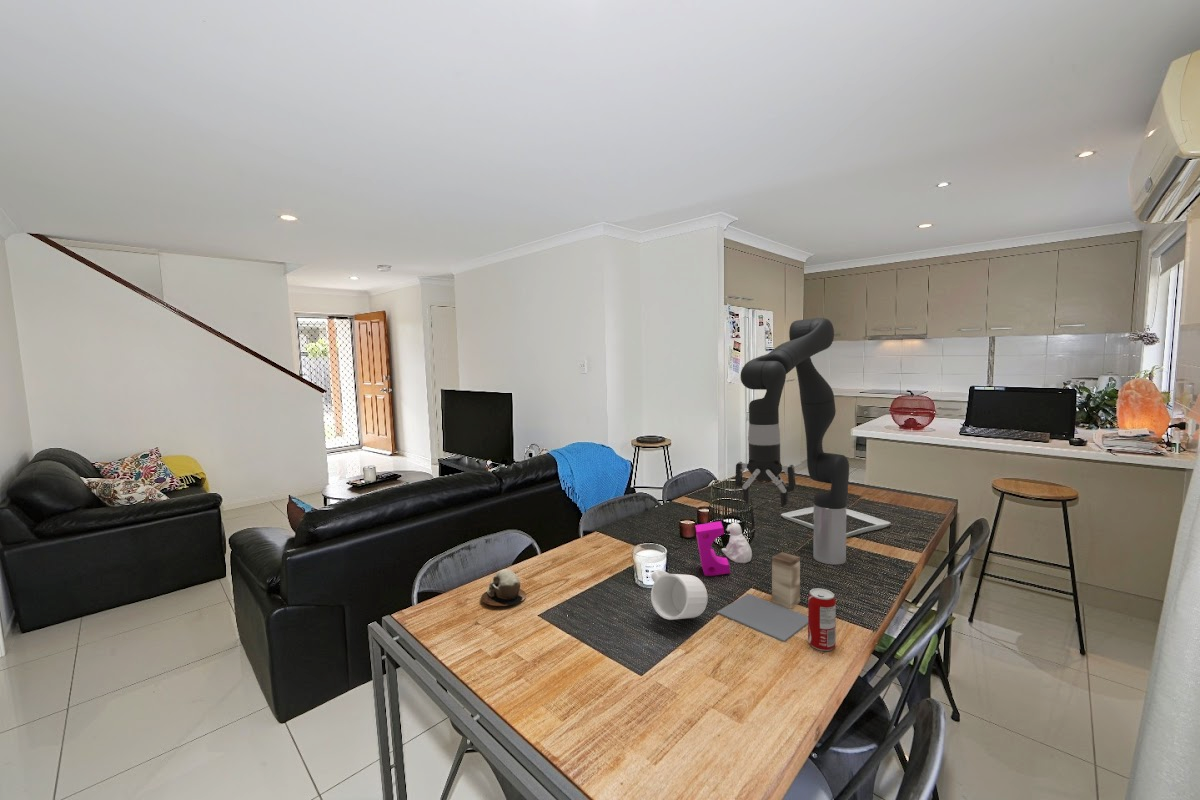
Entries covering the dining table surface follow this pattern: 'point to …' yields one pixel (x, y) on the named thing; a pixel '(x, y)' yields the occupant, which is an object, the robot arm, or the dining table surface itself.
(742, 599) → the mat
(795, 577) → the birch block
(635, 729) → the dining table surface
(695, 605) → the mug
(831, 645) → the soda can
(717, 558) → the toy block
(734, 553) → the pale pink lumpy piece
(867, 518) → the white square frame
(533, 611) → the dining table surface
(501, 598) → the skull
